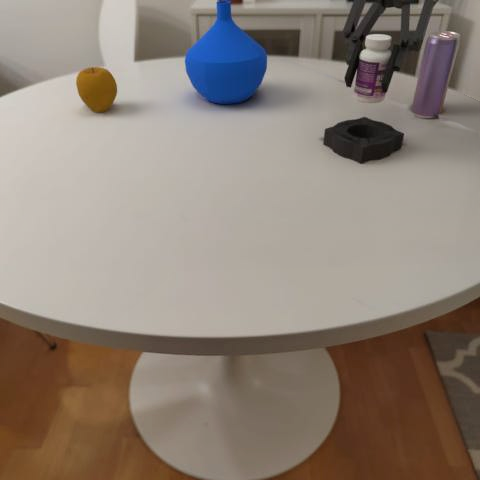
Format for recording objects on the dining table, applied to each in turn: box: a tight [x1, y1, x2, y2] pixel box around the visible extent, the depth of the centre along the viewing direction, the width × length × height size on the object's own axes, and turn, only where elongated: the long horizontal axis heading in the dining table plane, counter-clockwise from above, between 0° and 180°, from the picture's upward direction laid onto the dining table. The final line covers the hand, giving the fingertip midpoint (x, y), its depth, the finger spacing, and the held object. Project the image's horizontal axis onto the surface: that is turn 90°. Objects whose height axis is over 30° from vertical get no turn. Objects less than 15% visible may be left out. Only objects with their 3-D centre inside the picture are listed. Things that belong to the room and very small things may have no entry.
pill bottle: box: [353, 33, 392, 104], centre depth 76 cm, size 5×5×10 cm
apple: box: [75, 66, 118, 113], centre depth 100 cm, size 8×8×9 cm
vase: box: [184, 0, 268, 105], centre depth 100 cm, size 18×18×19 cm
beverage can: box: [410, 30, 461, 119], centre depth 91 cm, size 6×6×15 cm
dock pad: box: [323, 116, 405, 165], centre depth 84 cm, size 11×11×3 cm
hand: (365, 85), depth 74 cm, fingers closed on pill bottle, 5 cm apart
